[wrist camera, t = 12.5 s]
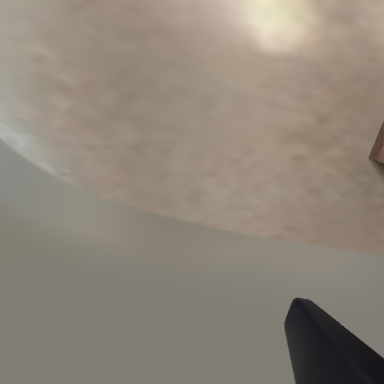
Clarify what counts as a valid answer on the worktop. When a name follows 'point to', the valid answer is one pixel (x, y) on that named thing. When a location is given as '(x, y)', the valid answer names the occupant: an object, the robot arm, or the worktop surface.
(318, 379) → the robot arm
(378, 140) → the valve box
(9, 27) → the worktop surface
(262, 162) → the worktop surface
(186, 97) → the worktop surface
